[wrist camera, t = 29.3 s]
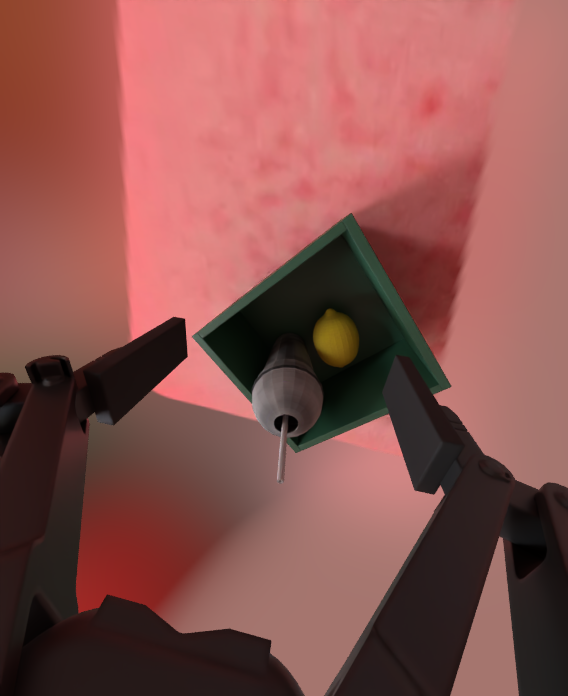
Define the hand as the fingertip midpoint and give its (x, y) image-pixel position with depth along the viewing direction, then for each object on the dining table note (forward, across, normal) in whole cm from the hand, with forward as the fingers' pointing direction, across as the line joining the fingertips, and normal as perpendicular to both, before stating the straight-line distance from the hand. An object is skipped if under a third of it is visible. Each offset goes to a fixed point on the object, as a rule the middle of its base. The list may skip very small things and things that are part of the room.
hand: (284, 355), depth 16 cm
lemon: (+16, +3, -1) cm, 16 cm away
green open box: (+19, +2, -4) cm, 20 cm away
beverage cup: (+18, -1, -8) cm, 20 cm away
